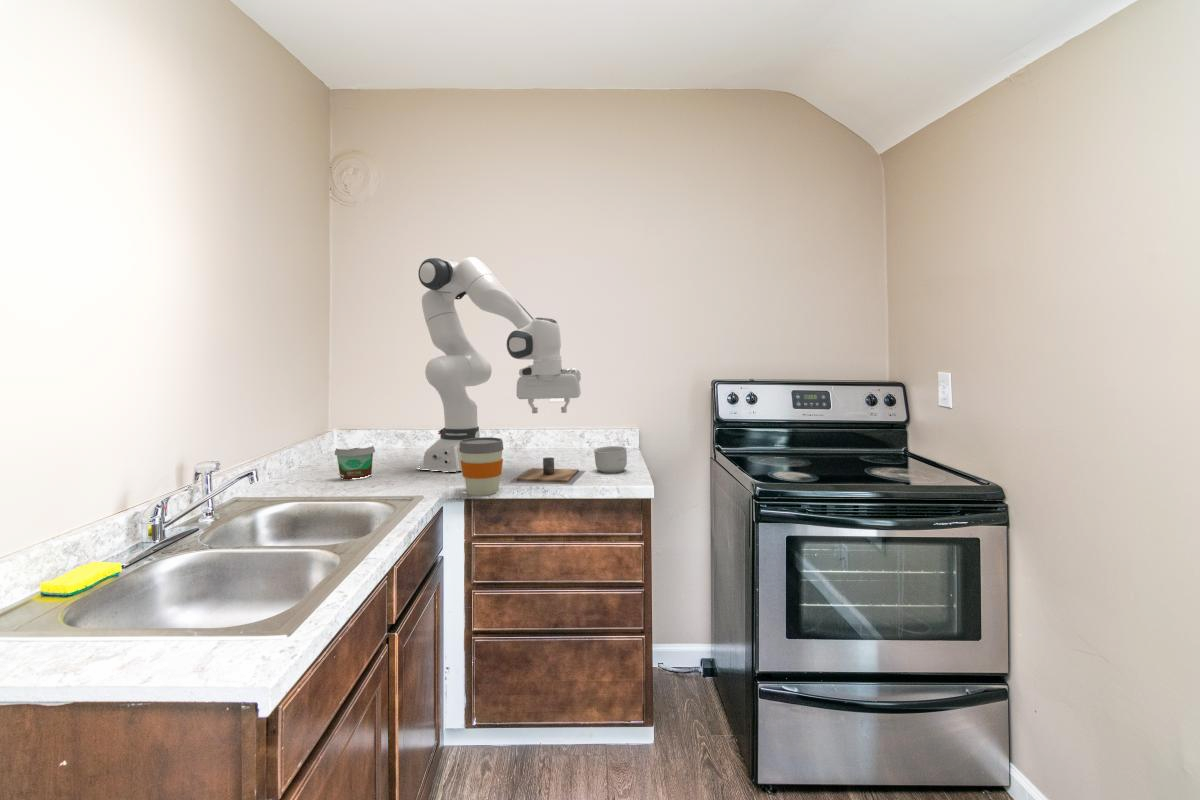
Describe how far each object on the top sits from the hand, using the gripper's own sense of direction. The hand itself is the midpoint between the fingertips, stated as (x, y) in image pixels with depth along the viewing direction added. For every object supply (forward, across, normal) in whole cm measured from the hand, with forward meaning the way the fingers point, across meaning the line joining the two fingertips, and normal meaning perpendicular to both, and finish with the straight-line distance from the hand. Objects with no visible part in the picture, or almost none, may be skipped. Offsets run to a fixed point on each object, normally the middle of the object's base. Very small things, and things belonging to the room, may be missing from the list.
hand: (549, 412), depth 195 cm
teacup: (+21, -18, -12) cm, 30 cm away
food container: (+20, +62, +7) cm, 66 cm away
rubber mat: (+21, +1, 0) cm, 21 cm away
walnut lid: (+20, +1, 0) cm, 20 cm away
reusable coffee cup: (+21, +16, +21) cm, 33 cm away
